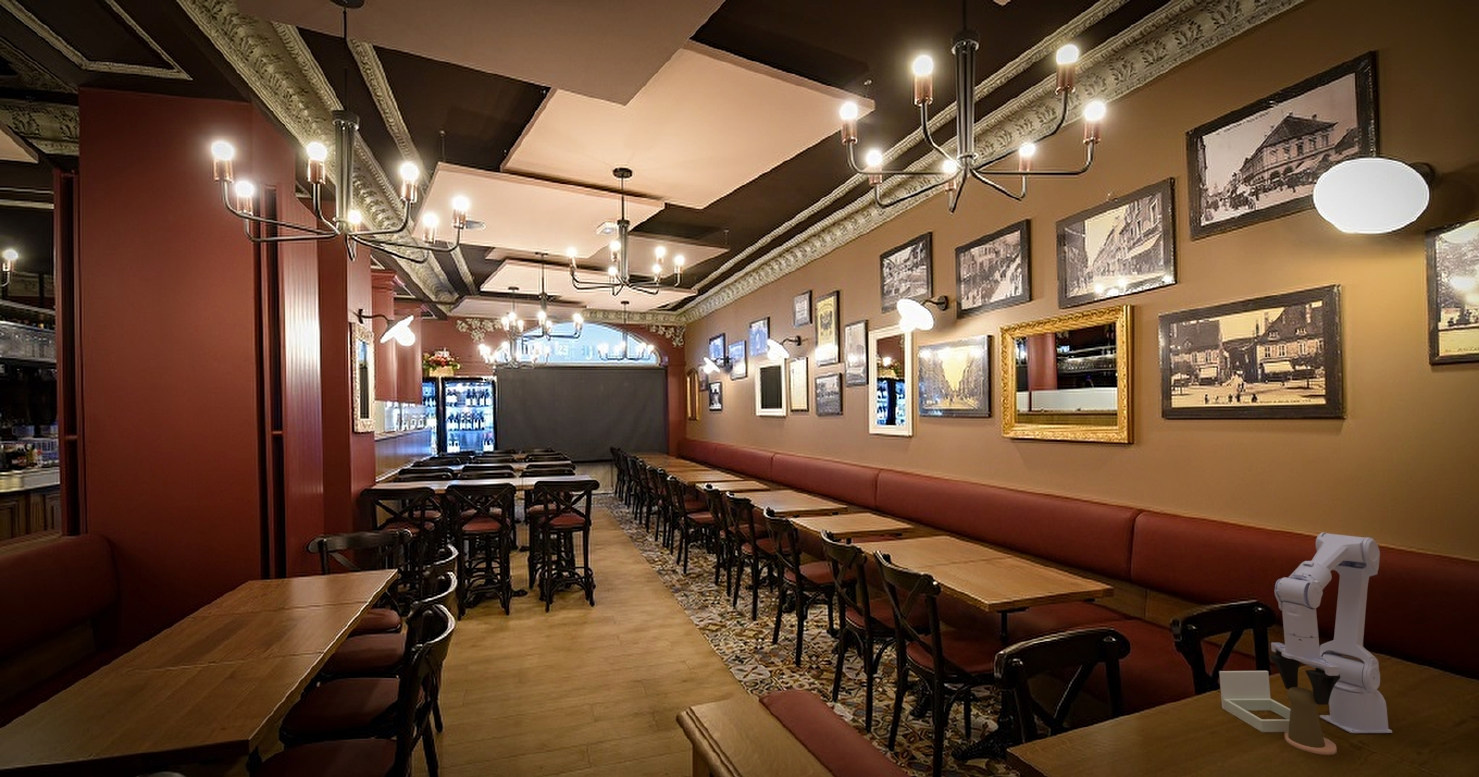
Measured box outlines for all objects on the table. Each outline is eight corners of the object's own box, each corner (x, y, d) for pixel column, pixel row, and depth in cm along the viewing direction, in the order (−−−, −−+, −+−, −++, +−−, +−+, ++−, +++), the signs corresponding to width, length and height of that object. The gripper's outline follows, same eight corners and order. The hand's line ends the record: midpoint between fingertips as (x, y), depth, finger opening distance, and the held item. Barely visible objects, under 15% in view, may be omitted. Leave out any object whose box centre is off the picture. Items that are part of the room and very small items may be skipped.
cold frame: (1269, 707, 152) (1266, 670, 153) (1313, 731, 140) (1310, 691, 140) (1222, 707, 152) (1219, 671, 153) (1262, 731, 140) (1258, 691, 141)
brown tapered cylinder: (1332, 748, 131) (1328, 695, 131) (1300, 746, 132) (1296, 694, 133) (1312, 734, 137) (1308, 684, 137) (1281, 732, 138) (1277, 682, 138)
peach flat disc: (1312, 734, 138) (1312, 730, 138) (1348, 754, 130) (1347, 749, 130) (1274, 735, 139) (1274, 730, 139) (1307, 754, 130) (1307, 749, 130)
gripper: (1256, 623, 143) (1260, 682, 142) (1311, 645, 129) (1317, 711, 128) (1286, 623, 143) (1291, 682, 142) (1346, 644, 129) (1352, 710, 128)
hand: (1306, 696), depth 135 cm, fingers open, 7 cm apart
